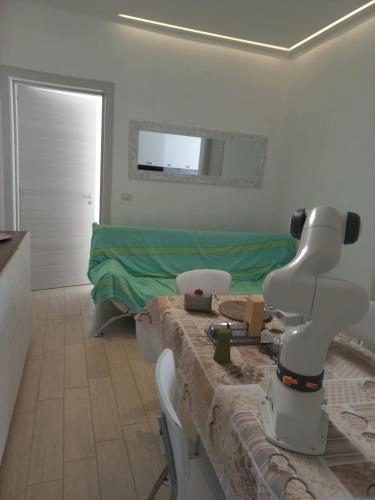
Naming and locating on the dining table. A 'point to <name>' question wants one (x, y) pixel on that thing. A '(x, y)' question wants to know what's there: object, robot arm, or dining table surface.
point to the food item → (198, 301)
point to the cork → (223, 346)
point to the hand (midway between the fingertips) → (263, 311)
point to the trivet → (236, 310)
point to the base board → (237, 338)
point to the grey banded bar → (230, 327)
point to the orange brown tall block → (254, 315)
